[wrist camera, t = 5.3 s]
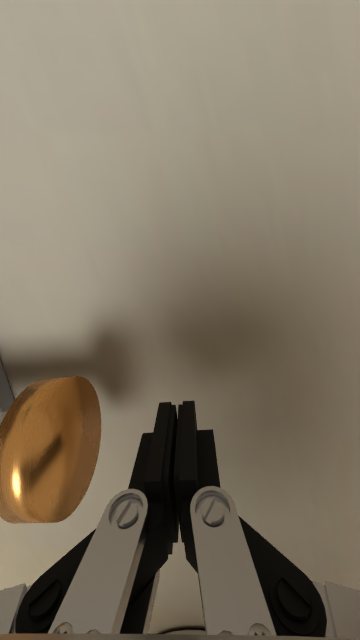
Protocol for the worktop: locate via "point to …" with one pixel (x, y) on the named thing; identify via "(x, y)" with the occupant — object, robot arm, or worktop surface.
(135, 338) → the worktop surface
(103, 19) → the worktop surface
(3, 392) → the bearing block
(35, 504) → the shaft
